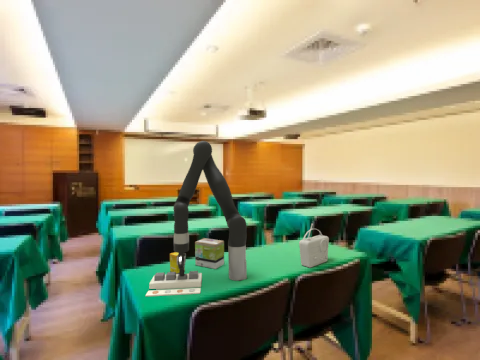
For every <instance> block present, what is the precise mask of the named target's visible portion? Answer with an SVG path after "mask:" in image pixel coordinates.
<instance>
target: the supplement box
mask: <svg viewBox="0 0 480 360" xmlns="http://www.w3.org/2000/svg"><path fill="white" fill-rule="evenodd" d="M178 254H179V253H178V252H175V251H174V252H171V253H169V272H176V274H180V269H179V268H178V263H177V262H178V259H177V255H178ZM185 268H186V267H185ZM185 268H184V273H185V271H186V270H185Z"/></svg>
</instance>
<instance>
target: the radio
mask: <svg viewBox="0 0 480 360" xmlns="http://www.w3.org/2000/svg"><path fill="white" fill-rule="evenodd" d="M313 225H314V223H311V225H310V229H309V230H308V231H306V233H305V234H304V235H303V238H302V239H301V240H299V243H298V244H299V245H298V247H299V256H300V264H301V266H304V267H307V268H310V269H311V268H314V267H316V266H319V265H321V264H323V263H326V262H328V260H329V259H328V257H329V241H330V238H329V236H327V235H323V234H322V232H321V230H320V229H317V228H315V230H317V231H318V232H319V234H318V235H314V236H312V237H311V231H312V230H313ZM307 235H308V236H307Z"/></svg>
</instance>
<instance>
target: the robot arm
mask: <svg viewBox="0 0 480 360" xmlns="http://www.w3.org/2000/svg"><path fill="white" fill-rule="evenodd" d="M192 152H193V156H192V160H191V164H190V167H189V169H188V170H187V173H186V175H185V178H184V180H183V182H182V185H181V187H180V190H179V194H178V196H177V198H176V200H175V202H174V204H173V208H172V209H173V213H174V224H173V232H174V233H173V251H174V252H178V253H179V254H178V255H177V259H178V262H177V263H178V268H179V269H180V276H184V274H185V272H184V268H186V261H187V260H186V258H187V253H186V252H189V251H190V234H189V214H190V213H189V205H190V202H191V199H192V198H193V197H194V195H195V191H196V190H197V186H198V183H199V180H200V178H201V175H202V172H203V173H204V177H205V179H206V181H207V184H208V187H209V190H210V191H211V194H212V195H213V198H214V199H215V201H216V203H217V204H218V206H219V208H220V209H221V211H222V214H223V216H224V219H225V223H226V226H227V228H228V241H227V246H228V256H227V257H228V278H229V280H232V281H238V282H239V281H243V280H247V279H248V277H247V276H248V275H247V272H248V270H247V265H248V264H247V255H246V254H247V252H246V251H247V249H246V243H247V235H248V234H247V228H248V227H247V225H248V224H247V221H246V219H245V218H244V217H243V216H242V215H241V214H240V213H239V211H238V209H237V207H236V206H235V201H234V200H233V195H232V192H231V189H230V186H229V184H228V182H227V180H226V178H225V176H224V175H223V173H222V172H221V171H220V169H219V168H218V166H217V165H216V162H215V160H214V158H213V155H212V154H213V148H212V144H211V143H209V142H208V141H207V140H201V141H199V142H197V143H196V144H195V145H194V146H193V149H192Z"/></svg>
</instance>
